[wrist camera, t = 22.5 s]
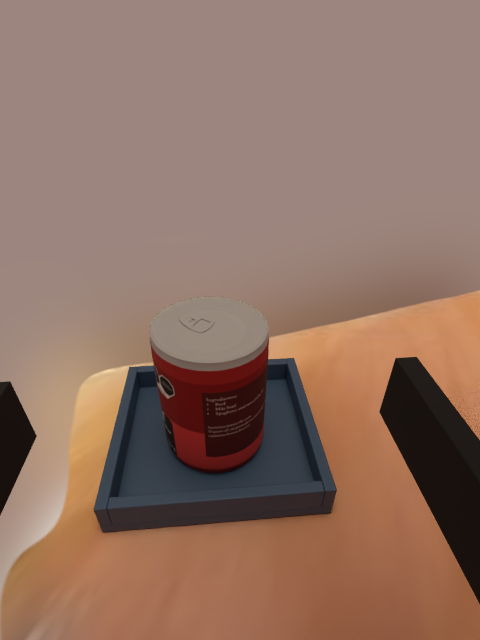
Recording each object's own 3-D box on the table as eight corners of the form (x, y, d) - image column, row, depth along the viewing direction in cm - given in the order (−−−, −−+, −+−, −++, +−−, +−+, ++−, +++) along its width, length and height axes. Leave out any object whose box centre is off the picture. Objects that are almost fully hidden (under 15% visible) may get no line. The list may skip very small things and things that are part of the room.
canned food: (188, 392, 34) (177, 288, 28) (272, 410, 32) (280, 304, 26) (149, 461, 28) (124, 348, 22) (250, 489, 26) (253, 374, 20)
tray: (291, 379, 37) (294, 357, 35) (331, 513, 26) (337, 490, 24) (134, 388, 36) (129, 366, 34) (102, 532, 24) (93, 510, 23)
